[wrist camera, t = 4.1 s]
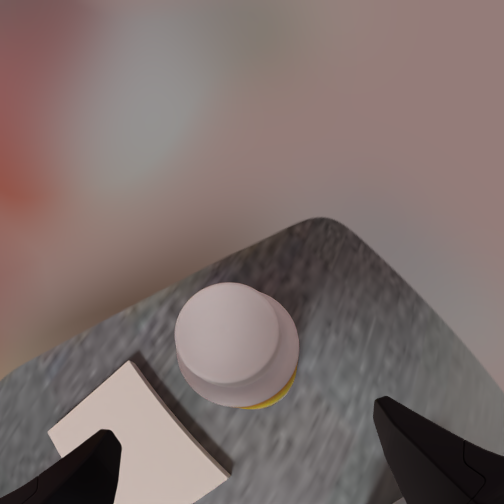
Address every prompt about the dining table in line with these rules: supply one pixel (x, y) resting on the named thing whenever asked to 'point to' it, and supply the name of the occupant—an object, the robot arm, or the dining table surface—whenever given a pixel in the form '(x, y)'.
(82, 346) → the dining table surface
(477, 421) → the dining table surface
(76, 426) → the cream square tile
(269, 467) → the dining table surface
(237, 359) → the supplement bottle
